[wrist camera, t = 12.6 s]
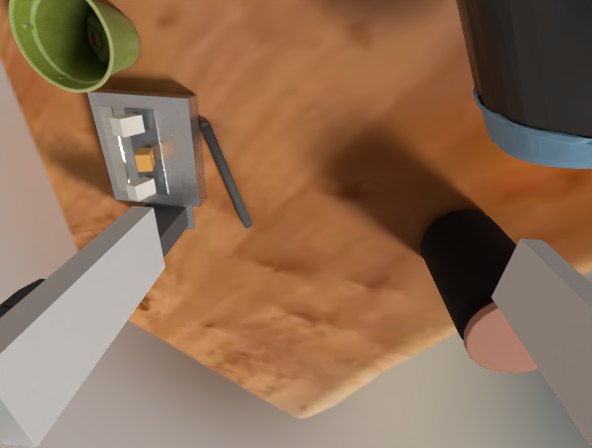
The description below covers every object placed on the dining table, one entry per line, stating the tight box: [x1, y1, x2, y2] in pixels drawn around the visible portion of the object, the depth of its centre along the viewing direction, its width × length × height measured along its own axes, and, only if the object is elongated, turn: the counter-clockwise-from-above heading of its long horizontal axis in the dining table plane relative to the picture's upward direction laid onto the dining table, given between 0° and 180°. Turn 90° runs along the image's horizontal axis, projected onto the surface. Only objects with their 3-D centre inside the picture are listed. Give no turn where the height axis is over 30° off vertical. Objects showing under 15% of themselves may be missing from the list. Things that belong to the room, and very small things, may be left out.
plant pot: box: [9, 0, 140, 93], centre depth 32 cm, size 9×9×9 cm
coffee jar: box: [421, 211, 539, 373], centre depth 38 cm, size 11×11×18 cm
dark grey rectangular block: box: [142, 202, 195, 258], centre depth 41 cm, size 4×7×14 cm, turn 87°
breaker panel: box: [87, 89, 207, 207], centre depth 41 cm, size 14×12×3 cm
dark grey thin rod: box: [200, 120, 252, 228], centre depth 43 cm, size 16×1×1 cm, turn 17°
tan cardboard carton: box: [135, 147, 155, 172], centre depth 38 cm, size 2×2×3 cm
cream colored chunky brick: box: [109, 113, 145, 138], centre depth 36 cm, size 2×2×3 cm
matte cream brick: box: [125, 176, 156, 201], centre depth 40 cm, size 2×2×3 cm
